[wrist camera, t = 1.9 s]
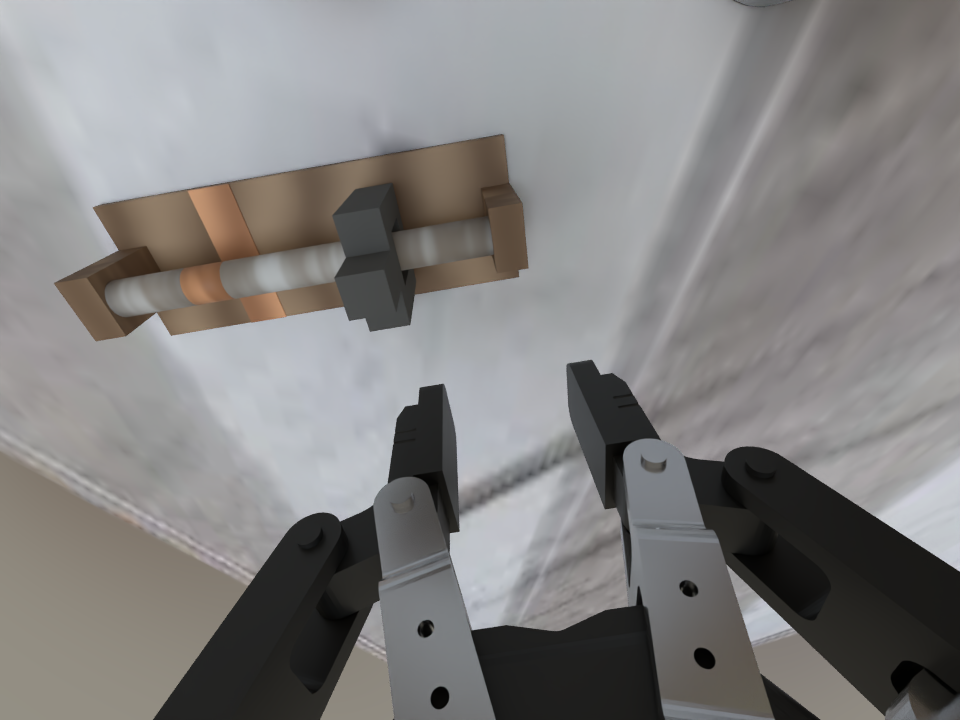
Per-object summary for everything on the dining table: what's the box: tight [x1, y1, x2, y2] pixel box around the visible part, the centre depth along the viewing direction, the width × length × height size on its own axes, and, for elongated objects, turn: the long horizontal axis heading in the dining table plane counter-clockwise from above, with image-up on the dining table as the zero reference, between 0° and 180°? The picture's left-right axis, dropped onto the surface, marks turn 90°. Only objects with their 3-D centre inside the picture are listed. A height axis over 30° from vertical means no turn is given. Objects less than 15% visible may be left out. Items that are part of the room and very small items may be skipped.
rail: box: [54, 134, 528, 341], centre depth 29 cm, size 28×10×7 cm, turn 99°
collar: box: [332, 183, 416, 332], centre depth 26 cm, size 2×7×10 cm, turn 9°
